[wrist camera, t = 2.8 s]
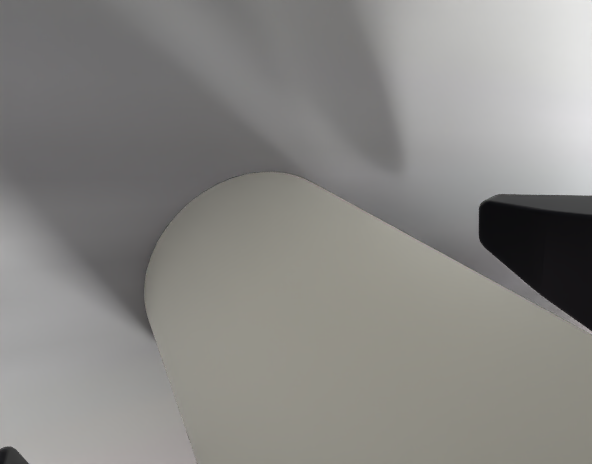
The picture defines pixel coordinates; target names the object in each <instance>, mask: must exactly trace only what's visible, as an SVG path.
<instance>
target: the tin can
mask: <svg viewBox="0 0 592 464" xmlns="http://www.w3.org/2000/svg"><path fill="white" fill-rule="evenodd" d="M144 302H145V308H146V314H147V317H148V320H149V323H150V325H151V328H152V331H153V334H154V337H155V340H156V343H157V346H158V349H159V352H160V355H161V358H162V361H163V364H164V367H165V370H166V373H167V376H168V378H169V381H170V384H171V387H172V390H173V393H174V396H175V399H176V402H177V405H178V408H179V411H180V414H181V417H182V420H183V423H184V426H185V428H186V431H187V434H188V437H189V440H190V443H191V446H192V449H193V452H194V455H195V458H196V461H197V464H592V335H591V334H589V333H587V332H586V331H584V330H582V329H580V328H578V327H576V326H575V325H573V324H571V323H569V322H567V321H565V320H564V319H562V318H560V317H558V316H556V315H554V314H553V313H551V312H549V311H547V310H545V309H543V308H542V307H540V306H538V305H536V304H534V303H532V302H531V301H529V300H527V299H525V298H523V297H521V296H520V295H518V294H516V293H514V292H512V291H510V290H509V289H507V288H505V287H503V286H501V285H499V284H498V283H496V282H494V281H492V280H490V279H488V278H487V277H485V276H483V275H481V274H479V273H477V272H476V271H474V270H472V269H470V268H468V267H466V266H465V265H463V264H461V263H459V262H457V261H455V260H454V259H452V258H450V257H448V256H446V255H444V254H443V253H441V252H439V251H437V250H435V249H433V248H432V247H430V246H428V245H426V244H424V243H422V242H421V241H419V240H417V239H415V238H413V237H411V236H410V235H408V234H406V233H404V232H402V231H400V230H399V229H397V228H395V227H393V226H391V225H390V224H388V223H386V222H384V221H382V220H380V219H379V218H377V217H375V216H373V215H371V214H369V213H368V212H366V211H364V210H362V209H360V208H358V207H357V206H355V205H353V204H351V203H349V202H347V201H346V200H344V199H342V198H340V197H338V196H336V195H335V194H333V193H331V192H329V191H327V190H325V189H324V188H322V187H320V186H318V185H316V184H314V183H312V182H310V181H308V180H306V179H304V178H302V177H299V176H295V175H292V174H288V173H281V172H257V173H250V174H245V175H241V176H238V177H234V178H231V179H229V180H226V181H224V182H221V183H219V184H217V185H215V186H213V187H212V188H210V189H208V190H206V191H204V192H203V193H201V194H200V195H199V196H197V197H196V198H195V199H193V200H192V201H191V202H189V203H188V204H187V205H186V206H185V207H184V208H183V209H182V210H181V211H180V212H179V213H178V214H177V215H176V216H175V217H174V219H173V220H172V221H171V222H170V224H169V225H168V226H167V227H166V229H165V230H164V232H163V234H162V235H161V237H160V238H159V240H158V242H157V244H156V246H155V248H154V250H153V253H152V255H151V258H150V261H149V264H148V268H147V271H146V277H145V284H144Z"/></svg>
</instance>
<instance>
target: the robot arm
mask: <svg viewBox="0 0 592 464" xmlns="http://www.w3.org/2000/svg"><path fill="white" fill-rule="evenodd" d="M479 239H480V242H481V243H482V245H483V246H484V247H485V248H486V249H487V250H488V251H489V252H491V253H492V254H493V255H494V256H495V257H496V258H498V259H499V260H500V261H501V262H502V263H504V264H505V265H506V266H507V267H508V268H509V269H511V270H512V271H513V272H514V273H515V274H516V275H518V276H519V277H520V278H521V279H522V280H524V281H525V282H526V283H527V284H528V285H529V286H531V287H532V288H533V289H534V290H536V291H537V292H538V293H539V294H540V295H542V296H543V297H545V298H546V299H547V300H549V301H550V302H551V303H553V304H554V305H556V306H557V307H558V308H560V309H561V310H563V311H564V312H565V313H567V314H568V315H570V316H571V317H573V318H574V319H575V320H577V321H578V322H580V323H581V324H582V325H584V326H585V327H587V328H588V329H589V330H591V331H592V196H578V195H516V194H499V195H495V196H493V197H491V198H489V199H487V200H485V201H483V202H482V203H481V205H480V207H479ZM0 464H29V463H28V462H27V461H26V460H25V459H24V458H23V457H22V455H21V454H20V453H19V452H18V451H17V450H16V449H14V448H13V447H3V448H1V449H0Z"/></svg>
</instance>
